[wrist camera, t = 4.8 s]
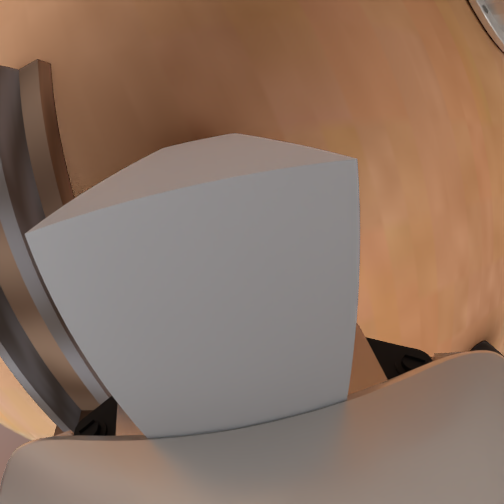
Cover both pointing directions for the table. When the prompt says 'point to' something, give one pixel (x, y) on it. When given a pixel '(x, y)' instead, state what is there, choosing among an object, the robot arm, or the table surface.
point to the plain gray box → (212, 281)
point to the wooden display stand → (22, 261)
